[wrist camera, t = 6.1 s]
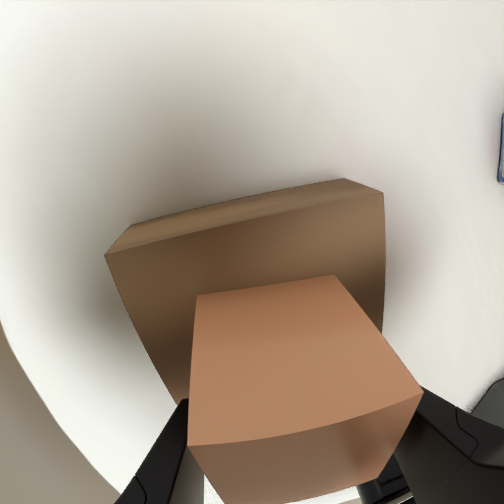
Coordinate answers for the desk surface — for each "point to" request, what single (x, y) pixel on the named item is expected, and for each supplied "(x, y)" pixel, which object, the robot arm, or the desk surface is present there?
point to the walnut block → (245, 260)
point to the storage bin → (492, 405)
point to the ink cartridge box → (502, 159)
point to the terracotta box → (293, 392)
